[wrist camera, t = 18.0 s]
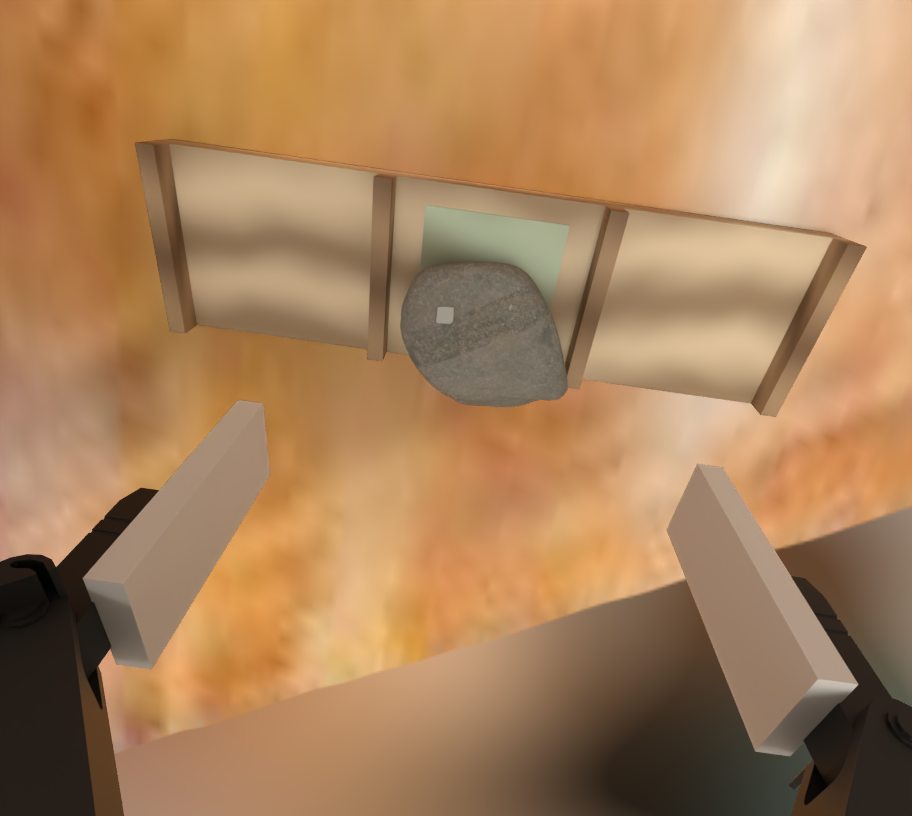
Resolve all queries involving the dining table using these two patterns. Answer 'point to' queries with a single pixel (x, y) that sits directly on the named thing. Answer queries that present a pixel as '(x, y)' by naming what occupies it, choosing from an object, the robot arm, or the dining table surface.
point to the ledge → (489, 240)
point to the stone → (483, 334)
